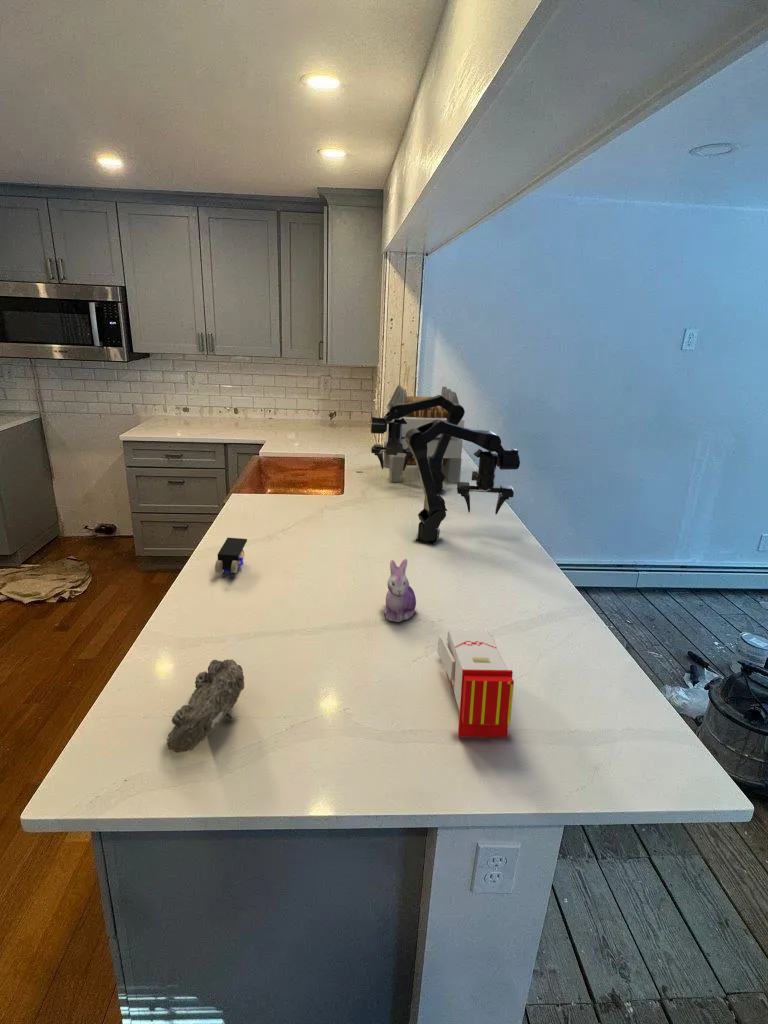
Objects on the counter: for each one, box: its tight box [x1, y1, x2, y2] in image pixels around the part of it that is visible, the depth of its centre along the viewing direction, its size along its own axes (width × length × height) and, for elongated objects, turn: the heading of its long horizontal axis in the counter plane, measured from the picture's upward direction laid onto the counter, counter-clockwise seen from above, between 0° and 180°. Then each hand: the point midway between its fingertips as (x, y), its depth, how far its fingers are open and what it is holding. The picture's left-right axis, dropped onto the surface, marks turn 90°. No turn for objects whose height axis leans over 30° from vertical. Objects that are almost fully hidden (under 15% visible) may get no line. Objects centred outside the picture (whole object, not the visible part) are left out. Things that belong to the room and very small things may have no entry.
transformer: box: [383, 384, 465, 484], centre depth 268 cm, size 34×33×41 cm
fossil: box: [166, 658, 245, 754], centre depth 106 cm, size 22×10×15 cm
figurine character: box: [214, 537, 248, 578], centre depth 166 cm, size 7×8×15 cm
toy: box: [437, 628, 515, 738], centre depth 117 cm, size 12×13×30 cm
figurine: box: [384, 558, 417, 623], centre depth 145 cm, size 9×10×15 cm
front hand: (482, 513), depth 195 cm, fingers open, 9 cm apart
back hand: (393, 469), depth 243 cm, fingers open, 9 cm apart
